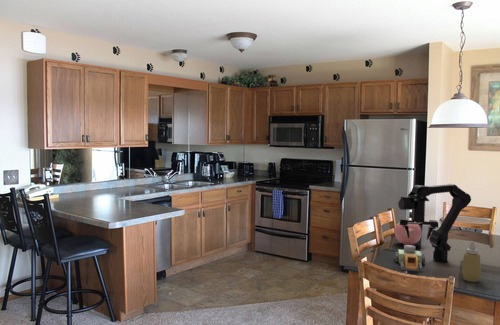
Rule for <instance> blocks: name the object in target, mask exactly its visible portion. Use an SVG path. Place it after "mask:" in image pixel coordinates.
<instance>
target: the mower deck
mask: <svg viewBox="0 0 500 325" xmlns="http://www.w3.org/2000/svg"><path fill="white" fill-rule="evenodd" d="M397 250H398V251H394V262H395V263H398V264H400V260H403V263H405V254H415V255H417V258H418V261H420V262H421V265H422V266H423V265H426V257H425V254H424V253H422V252H421V251H420V250H416V245H405V244H403V249H397ZM407 258H408V262H414V263H415V258H410V257H407Z"/></svg>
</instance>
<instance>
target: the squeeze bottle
mask: <svg viewBox="0 0 500 325" xmlns="http://www.w3.org/2000/svg"><path fill="white" fill-rule="evenodd" d="M465 250H466V252H464V254H463V259H462V264H461V265H462V266H461V274H462V277H463V280H464V281H466V282H469V283H470V282H471V283H476V282H477V283H478V282H479V280H480V277H481V275H482V264H481V255H480V254H479V250H478V249H477V248H476V245H475V241H474V240H473V241H472V240H471V241H470V244H469V247H467V248H466V249H465Z"/></svg>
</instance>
